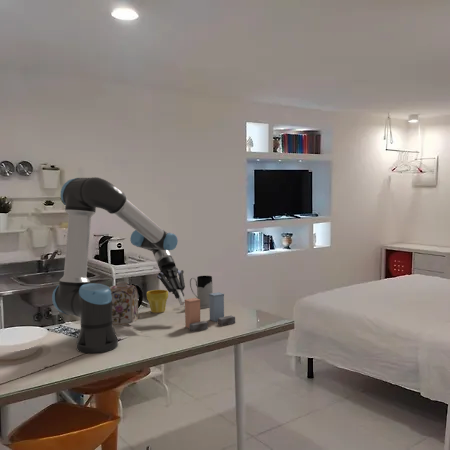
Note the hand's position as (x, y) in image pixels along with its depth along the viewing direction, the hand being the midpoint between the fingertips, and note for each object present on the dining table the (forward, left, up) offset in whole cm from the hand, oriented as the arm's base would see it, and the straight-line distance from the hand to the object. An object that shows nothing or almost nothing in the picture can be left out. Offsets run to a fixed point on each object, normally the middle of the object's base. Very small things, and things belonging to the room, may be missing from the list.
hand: (183, 303), depth 207 cm
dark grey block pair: (+10, -4, -10) cm, 14 cm away
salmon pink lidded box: (+3, -8, -8) cm, 12 cm away
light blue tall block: (+15, +1, -8) cm, 17 cm away
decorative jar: (-26, +12, -10) cm, 30 cm away
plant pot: (-10, +27, -10) cm, 30 cm away
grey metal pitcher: (+12, +34, -10) cm, 37 cm away
